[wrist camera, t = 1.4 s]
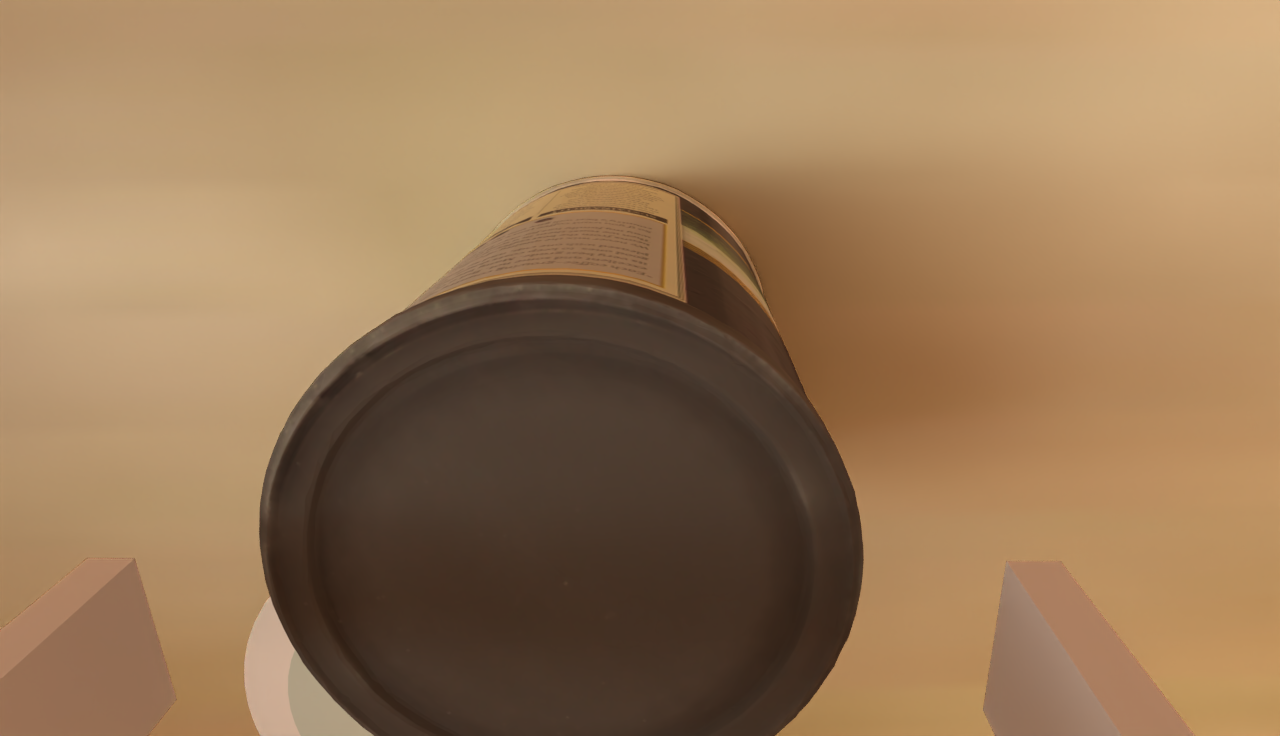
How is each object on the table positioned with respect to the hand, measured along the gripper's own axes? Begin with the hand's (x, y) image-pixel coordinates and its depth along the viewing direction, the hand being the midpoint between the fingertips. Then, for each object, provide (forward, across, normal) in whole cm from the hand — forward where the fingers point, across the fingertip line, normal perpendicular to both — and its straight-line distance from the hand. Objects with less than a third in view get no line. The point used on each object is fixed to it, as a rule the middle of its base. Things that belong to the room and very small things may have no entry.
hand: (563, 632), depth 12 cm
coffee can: (+16, 0, 0) cm, 16 cm away
